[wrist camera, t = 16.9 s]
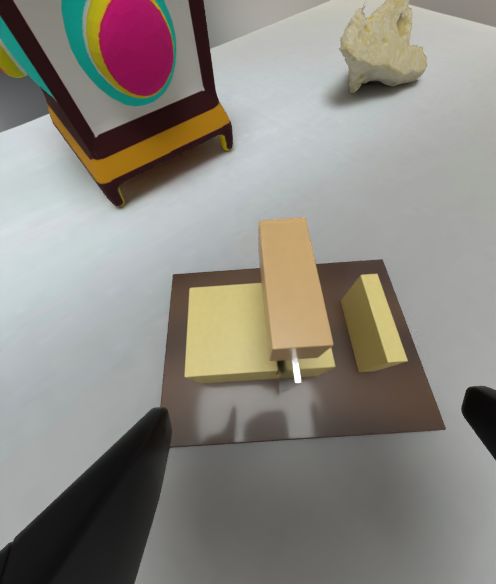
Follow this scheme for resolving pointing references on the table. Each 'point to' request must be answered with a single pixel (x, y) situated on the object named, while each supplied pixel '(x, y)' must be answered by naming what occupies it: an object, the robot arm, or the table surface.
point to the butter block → (234, 337)
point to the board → (313, 390)
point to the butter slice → (371, 326)
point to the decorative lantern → (118, 79)
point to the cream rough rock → (382, 46)
